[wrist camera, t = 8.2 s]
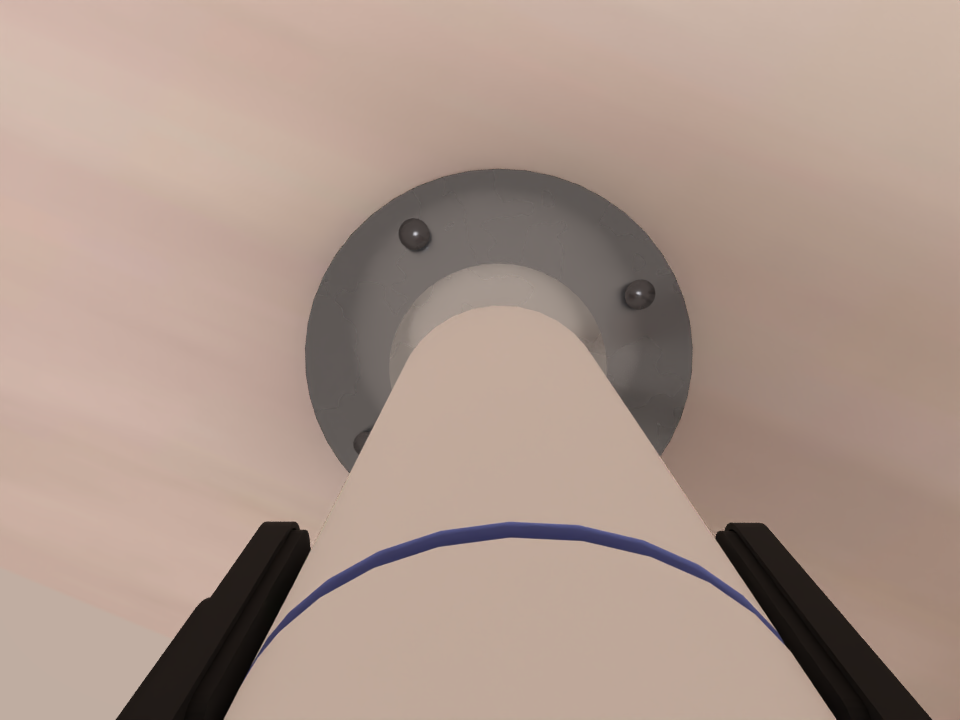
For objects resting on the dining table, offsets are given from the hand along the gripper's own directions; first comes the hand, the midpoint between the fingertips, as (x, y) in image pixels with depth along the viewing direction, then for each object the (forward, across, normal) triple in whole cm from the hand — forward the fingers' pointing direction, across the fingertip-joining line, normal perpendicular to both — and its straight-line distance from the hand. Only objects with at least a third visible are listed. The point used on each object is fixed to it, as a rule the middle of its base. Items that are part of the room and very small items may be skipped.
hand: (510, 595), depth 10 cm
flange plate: (+15, 0, 0) cm, 15 cm away
